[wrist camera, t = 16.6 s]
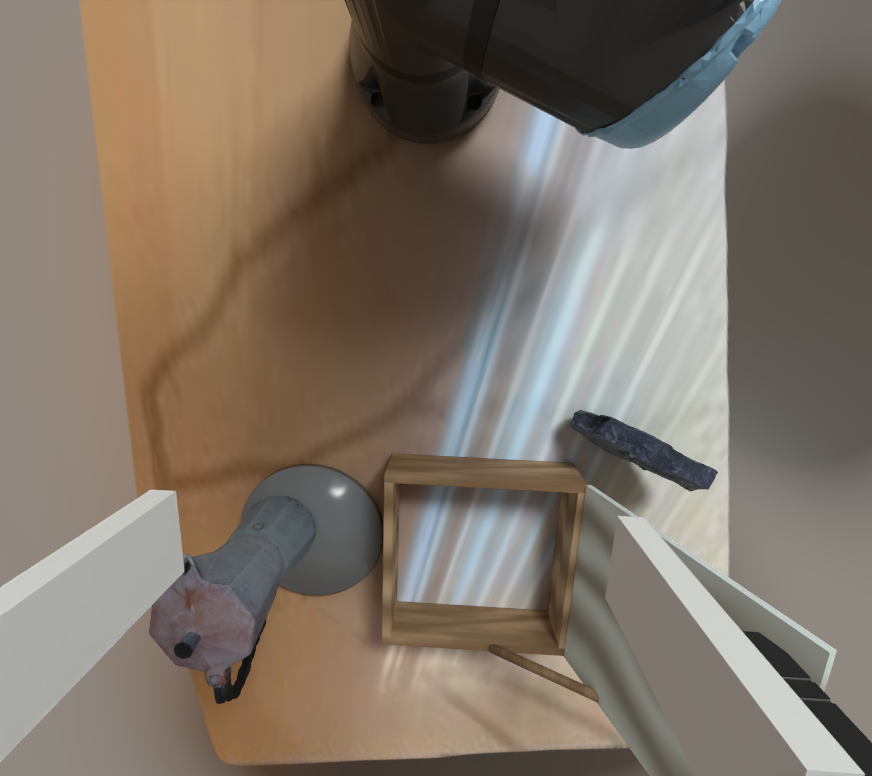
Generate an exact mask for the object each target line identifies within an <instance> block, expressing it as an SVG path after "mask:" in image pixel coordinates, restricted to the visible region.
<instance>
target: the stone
mask: <svg viewBox="0 0 872 776" xmlns="http://www.w3.org/2000/svg"><path fill="white" fill-rule="evenodd" d="M571 426H572V427H573V428H574V429H576V430H577V431H579V432H580V433H581V434H583V435H584V436H585V437H586V438H588V439H589V440H590V441H592V442H593V443H595V444H596V445H598V446H600V447H601V448H602V449H604V450H605V451H607V452H609V453H612V454H614V455H616V456H619V457H620V458H622V459H624V460H628V461H630V462H633V463H635V464H636V465H638V466H639V467H640V468H642V469H643V470H648V471H650V472H652V473H655V474H657V475H659V476H661V477H664V478H666V479H668V480H671V481H673V482H675V483H677V484H679V485H680V486H682V487H683V488H685V489H687V490H688V491H693V490H697V489H709V488H710V486H711V484H712V482H713V481H714V479H715V476H716V474H717V473H718V472H717V471H716V470H715V469H713V468H711V467H709V466H706V465H704V464H702V463H699V462H696V461H694V460H692V459H690V458H688V457H686V456H684V455H683V454H681V453H679V452H677V451H676V450H674V449H673V447H672V446H670V445H669V444H667V443H665V442H662V441H661V440H659V439H657V438H655V437H654V436H652V435H650V434H648V433H646V432H643V431H641V430H639V429H636V428H633V427H631V426H628V425H626V424H624V423H623V422H620V421H619V420H617V419H614V418H612V417H609V416H605V415H600V416H598V415H596V414H593V413H590V412H586V411H582V410H580V411H578V412H575V413H574V417H573V419H572V422H571Z"/></svg>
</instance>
